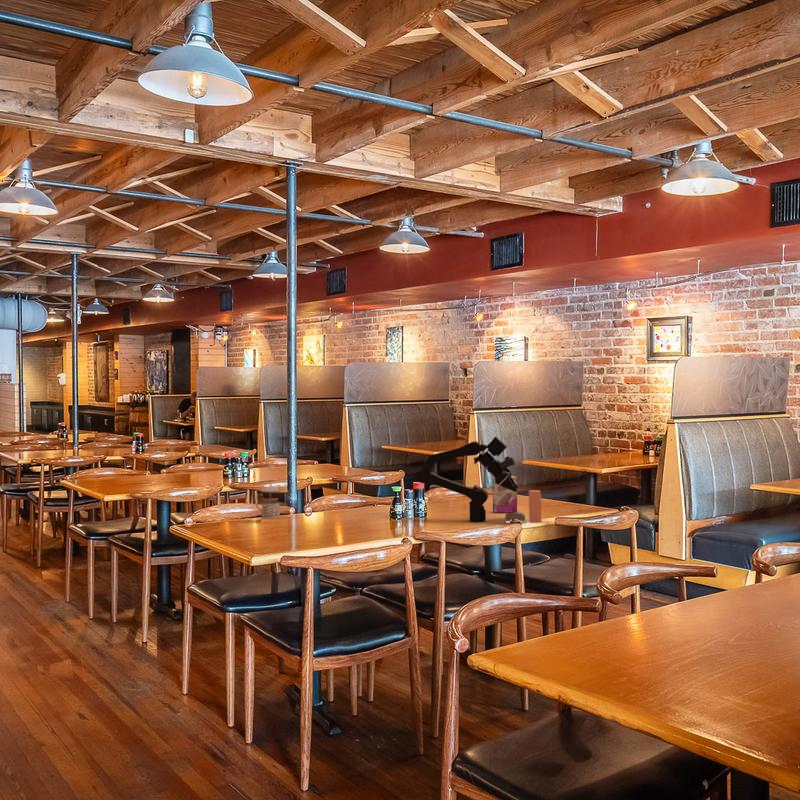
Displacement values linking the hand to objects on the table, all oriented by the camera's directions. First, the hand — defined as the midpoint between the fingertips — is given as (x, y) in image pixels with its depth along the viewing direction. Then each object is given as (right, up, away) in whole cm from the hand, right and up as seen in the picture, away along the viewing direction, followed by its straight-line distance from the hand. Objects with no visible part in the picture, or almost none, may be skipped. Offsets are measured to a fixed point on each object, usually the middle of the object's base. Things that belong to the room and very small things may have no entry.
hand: (517, 489), depth 355 cm
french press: (-108, -16, +14) cm, 110 cm away
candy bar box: (-2, -13, +27) cm, 30 cm away
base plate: (-1, -13, -1) cm, 13 cm away
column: (+8, -13, -1) cm, 15 cm away
